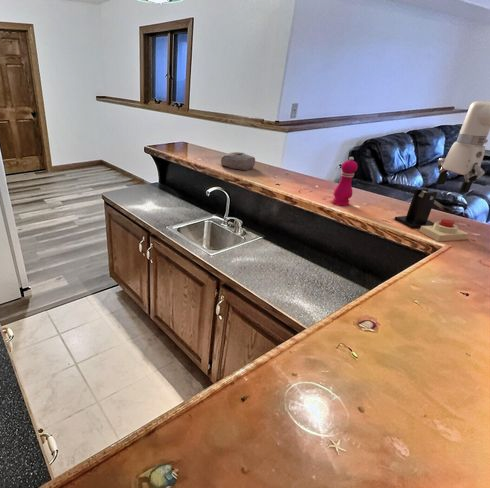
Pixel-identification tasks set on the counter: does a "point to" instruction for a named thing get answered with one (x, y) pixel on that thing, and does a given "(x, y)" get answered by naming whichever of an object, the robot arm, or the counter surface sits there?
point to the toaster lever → (436, 203)
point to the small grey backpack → (238, 161)
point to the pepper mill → (345, 183)
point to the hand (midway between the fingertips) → (451, 188)
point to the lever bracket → (419, 210)
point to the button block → (443, 232)
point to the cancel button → (446, 223)
